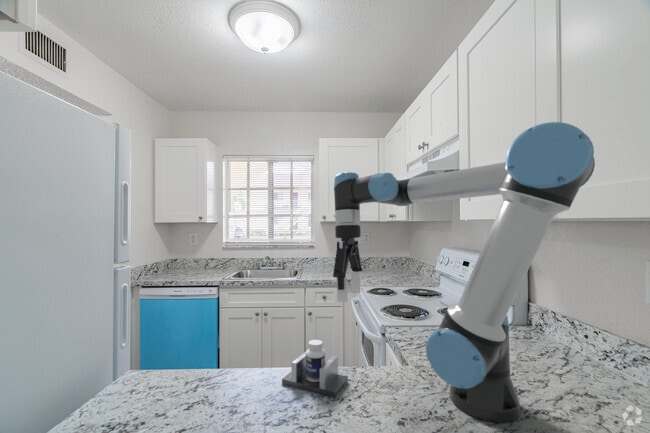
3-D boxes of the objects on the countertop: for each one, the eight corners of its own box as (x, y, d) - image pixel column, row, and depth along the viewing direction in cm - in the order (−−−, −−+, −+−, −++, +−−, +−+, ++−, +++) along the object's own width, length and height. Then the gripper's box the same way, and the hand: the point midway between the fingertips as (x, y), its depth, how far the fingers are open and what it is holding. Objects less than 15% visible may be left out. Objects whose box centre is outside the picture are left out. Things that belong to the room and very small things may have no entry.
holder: (347, 381, 82) (347, 358, 82) (335, 398, 74) (335, 372, 74) (298, 370, 88) (298, 348, 89) (282, 384, 80) (282, 360, 81)
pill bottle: (302, 380, 79) (302, 344, 80) (310, 371, 84) (310, 337, 85) (320, 384, 78) (320, 346, 78) (327, 375, 83) (327, 340, 83)
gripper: (347, 226, 100) (349, 289, 98) (320, 223, 77) (321, 305, 75) (369, 225, 97) (371, 290, 96) (347, 222, 74) (349, 306, 73)
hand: (349, 296), depth 85 cm, fingers open, 13 cm apart
